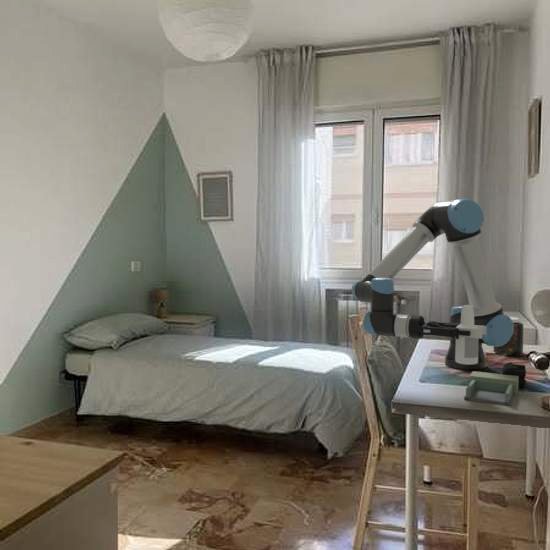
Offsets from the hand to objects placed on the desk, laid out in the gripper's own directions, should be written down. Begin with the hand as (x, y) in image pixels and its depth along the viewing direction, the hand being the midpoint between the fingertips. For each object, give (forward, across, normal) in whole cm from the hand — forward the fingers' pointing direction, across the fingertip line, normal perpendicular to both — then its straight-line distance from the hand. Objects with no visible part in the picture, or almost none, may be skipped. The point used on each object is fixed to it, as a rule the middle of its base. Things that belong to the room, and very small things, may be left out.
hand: (484, 332), depth 169 cm
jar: (-1, -73, -20) cm, 76 cm away
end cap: (+7, -18, -20) cm, 28 cm away
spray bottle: (-5, 0, -10) cm, 11 cm away
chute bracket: (+2, -2, -20) cm, 20 cm away
